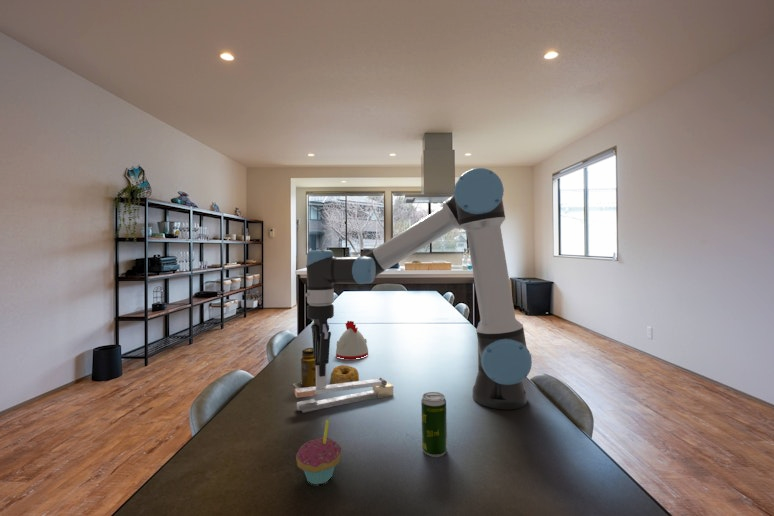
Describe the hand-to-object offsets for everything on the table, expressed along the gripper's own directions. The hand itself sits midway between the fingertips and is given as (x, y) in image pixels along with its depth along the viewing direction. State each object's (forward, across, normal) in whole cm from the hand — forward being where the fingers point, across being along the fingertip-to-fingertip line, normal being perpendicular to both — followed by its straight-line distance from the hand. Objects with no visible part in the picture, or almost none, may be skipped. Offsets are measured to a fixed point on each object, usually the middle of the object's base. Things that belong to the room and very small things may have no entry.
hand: (321, 386), depth 101 cm
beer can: (+6, +34, +16) cm, 38 cm away
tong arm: (+2, 0, +6) cm, 7 cm away
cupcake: (+6, +32, -9) cm, 34 cm away
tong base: (+6, 0, +7) cm, 9 cm away
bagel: (+6, -17, +12) cm, 22 cm away
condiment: (+6, -19, 0) cm, 20 cm away
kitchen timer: (+6, -46, +25) cm, 53 cm away
